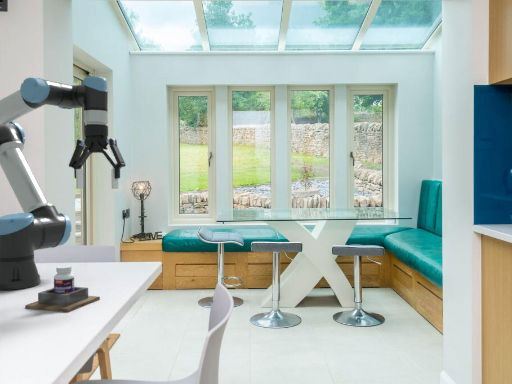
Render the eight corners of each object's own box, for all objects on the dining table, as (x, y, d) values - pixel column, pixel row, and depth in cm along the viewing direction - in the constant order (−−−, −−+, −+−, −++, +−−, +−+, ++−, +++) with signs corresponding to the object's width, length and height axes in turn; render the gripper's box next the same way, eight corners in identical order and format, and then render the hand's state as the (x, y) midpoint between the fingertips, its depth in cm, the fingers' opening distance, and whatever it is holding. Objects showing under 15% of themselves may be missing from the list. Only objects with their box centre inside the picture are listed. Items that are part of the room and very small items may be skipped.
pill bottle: (53, 303, 138) (52, 268, 137) (55, 299, 143) (54, 265, 142) (73, 302, 139) (73, 267, 139) (75, 297, 144) (74, 264, 144)
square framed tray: (25, 308, 136) (25, 294, 136) (59, 296, 150) (59, 283, 150) (68, 312, 132) (68, 298, 132) (99, 299, 146) (99, 286, 145)
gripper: (135, 124, 164) (136, 188, 165) (71, 126, 172) (72, 188, 173) (122, 122, 157) (123, 189, 158) (57, 124, 165) (58, 188, 166)
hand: (97, 188), depth 165 cm, fingers open, 13 cm apart
